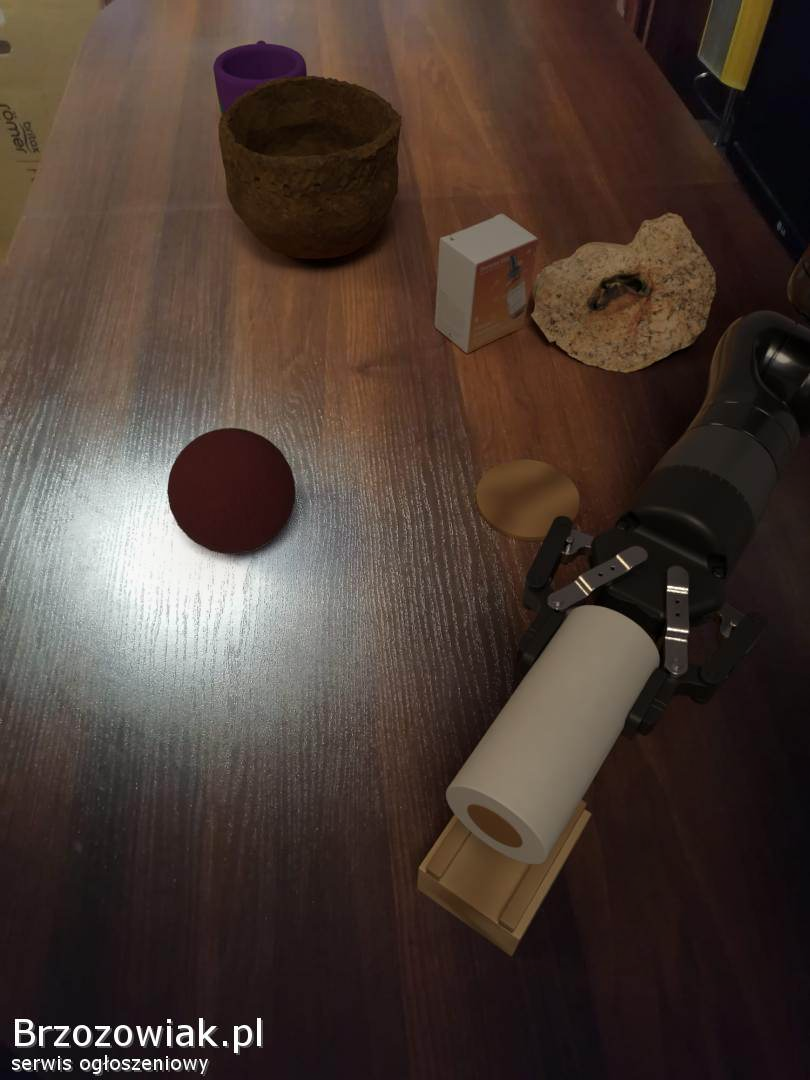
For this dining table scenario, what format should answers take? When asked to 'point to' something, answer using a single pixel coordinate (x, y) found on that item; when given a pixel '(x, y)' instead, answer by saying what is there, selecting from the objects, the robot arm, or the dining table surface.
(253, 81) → the mug
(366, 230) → the bowl
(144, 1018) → the dining table surface
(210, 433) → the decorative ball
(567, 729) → the paper towel roll
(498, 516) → the coaster
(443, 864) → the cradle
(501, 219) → the small box
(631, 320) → the beige speckled lump
